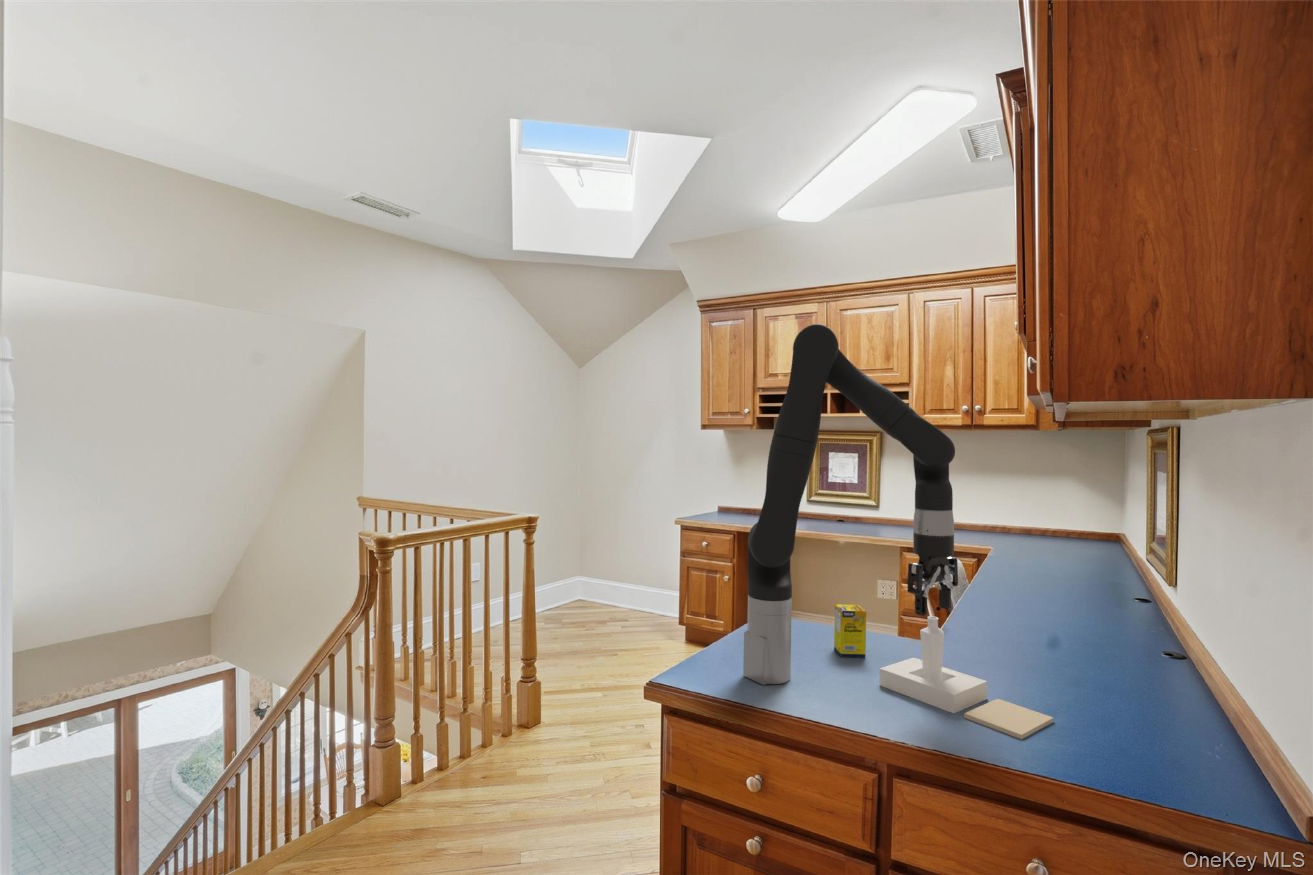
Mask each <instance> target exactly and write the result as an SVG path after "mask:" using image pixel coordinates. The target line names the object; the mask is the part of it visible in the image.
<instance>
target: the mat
mask: <svg viewBox="0 0 1313 875" xmlns="http://www.w3.org/2000/svg"><path fill="white" fill-rule="evenodd" d="M963 717H964V719H967V720H969V721H972V722H974V723H978V724H980V725H983V726H985V727H987V728H991V729H993V730H996V731H998V732H1000V733H1003V734H1006V735H1009V736H1011V737H1014V738H1016V739H1019V740H1023V739H1025V738H1027V737H1029V736H1030V735H1033V734H1034V733H1036V732H1038V731H1040V730H1042V729H1043V728H1045V727H1047V726H1049V725H1051V724H1053V723H1054V717H1053V716H1051V715H1046V714H1045V713H1041V712H1038V711H1035V710H1032V709H1029V708H1027V707H1024V706H1021V705H1018V704H1015V703H1012V702H1008V701H1006V700H1003V699H1000V698H996V699H993V700H991V701H989V702H986V703H984V704H982V705H980V706H977V707H975V708H973V709H971V710H968V711H966V712H965V713H964V715H963Z"/></svg>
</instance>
